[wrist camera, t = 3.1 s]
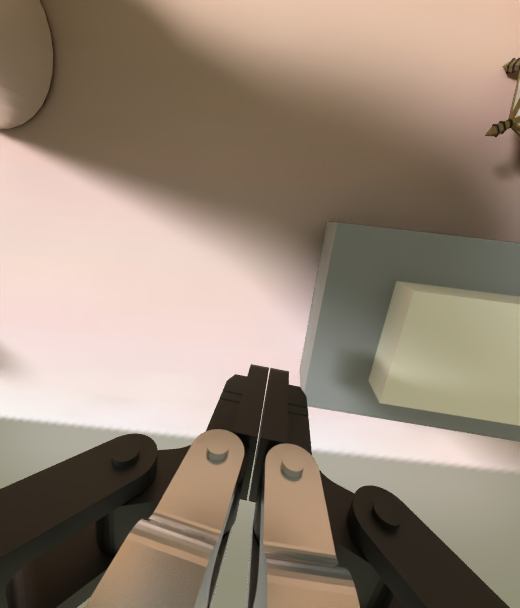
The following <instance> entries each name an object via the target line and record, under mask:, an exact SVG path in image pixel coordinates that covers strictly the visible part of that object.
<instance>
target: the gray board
mask: <svg viewBox="0 0 520 608" xmlns="http://www.w3.org/2000/svg"><path fill="white" fill-rule="evenodd" d="M396 281H402V282H409V283H417V284H425V285H433V286H441V287H449V288H456V289H464V290H472V291H480V292H488V293H496V294H504V295H511V296H519V297H520V243H517V242H508V241H499V240H491V239H482V238H473V237H464V236H455V235H446V234H437V233H429V232H420V231H411V230H402V229H393V228H384V227H375V226H367V225H358V224H349V223H340V222H327V223H326V228H325V234H324V239H323V245H322V250H321V256H320V261H319V267H318V272H317V278H316V283H315V289H314V294H313V300H312V305H311V311H310V317H309V322H308V328H307V333H306V339H305V344H304V350H303V355H302V361H301V366H300V383H301V389H302V390H303V392H304V393H305V395H306V397H307V406H309V407H315V408H321V409H327V410H333V411H339V412H345V413H351V414H357V415H363V416H369V417H375V418H381V419H387V420H393V421H399V422H405V423H411V424H417V425H423V426H429V427H435V428H441V429H447V430H454V431H460V432H466V433H472V434H478V435H484V436H490V437H496V438H502V439H508V440H514V441H520V426H518V425H512V424H506V423H499V422H493V421H487V420H481V419H475V418H469V417H462V416H456V415H450V414H444V413H438V412H432V411H425V410H419V409H413V408H407V407H401V406H395V405H388V404H382V403H379V401H378V399H377V397H376V395H375V393H374V391H373V389H372V387H371V385H370V383H369V381H368V380H369V376H370V373H371V369H372V365H373V362H374V358H375V355H376V351H377V348H378V344H379V341H380V337H381V334H382V330H383V327H384V323H385V320H386V316H387V312H388V309H389V305H390V302H391V298H392V295H393V291H394V288H395V284H396Z"/></svg>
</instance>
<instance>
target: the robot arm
mask: <svg viewBox="0 0 520 608" xmlns="http://www.w3.org/2000/svg"><path fill="white" fill-rule="evenodd" d="M52 72H53V49H52V41H51V33H50V29H49V26H48V22H47V19H46V15H45V11H44V9H43V7H42V5H41V2H40V0H0V129H10V128H13V127H16V126H19V125H22V124H24V123H25V122H27V121H28V120H29V119H31V118H32V117H33V116H34V115H35V114H36V113H37V111H38V110H39V109H40V107H41V106H42V105H43V102H44V100H45V98H46V96H47V93H48V91H49V87H50V82H51V78H52ZM268 371H269V368H268V367H263V366H258V365H252V364H251V366H250V369H249V373H248V376H247V377H246V376H241V375H236V374H235V375H234V376H233V377H231V378H230V379H229V380H228V381H227V382H226V384H225V387H224V389H223V392H222V394H221V396H220V400H219V401H218V403H217V406H216V408H215V411H214V413H213V415H212V418H211V420H210V423H209V425H208V427H207V430H206V432H204V433H202V434H200V435H199V436H198V437H197V438H196V439H195V440H194V442H193V443H192V445H190V446H187V447H184V448H179V449H169V450H157V446H156V444H155V442H154V441H153V440H152V439H151V438H150V437H148V436H146V435H142V434H127V435H124V436H120V437H117V438H115V439H113V440H110V441H108V442H106V443H103V444H101V445H99V446H97V447H94V448H92V449H90V450H88V451H85V452H83V453H81V454H79V455H77V456H74V457H72V458H70V459H67V460H65V461H63V462H61V463H58V464H56V465H54V466H51V467H49V468H47V469H45V470H43V471H40V472H38V473H36V474H33V475H31V476H29V477H27V478H24V479H23V480H20V481H18V482H16V483H13V484H11V485H9V486H6V487H4V488H2V489H0V608H77V607H78V606H79V605H81V604H82V603H83V602H85V601H86V600H87V599H88V598H89V597H90V599H89V601H88V602H87V604H86V605H85V607H84V608H211V606H212V602H213V598H214V595H215V591H216V587H217V583H218V579H219V576H220V572H221V569H222V565H223V561H224V557H225V554H226V550H227V546H228V542H229V539H230V535H231V531H232V526H233V524H234V522H235V520H236V516H237V511H238V506H239V500H240V499H242V500H247V494H248V489H249V483H250V478H251V472H252V466H253V461H254V455H255V450H256V445H257V439H258V445H257V451H256V457H255V464H254V470H253V477H252V483H251V490H250V496H249V501H251V502H256V506H255V513H254V521H253V525H252V531H251V538H250V553H249V569H248V583H247V598H246V608H510V607H509V606H507V604H506V603H505V602H503V601H502V600H501V599H500V598H499V597H498V596H497V595H496V594H495V593H494V592H493V591H492V590H491V589H490V588H489V587H488V586H487V585H486V584H485V583H484V582H483V581H482V580H481V579H480V578H479V577H478V576H477V575H476V574H475V573H474V572H473V571H472V570H471V569H470V568H469V567H468V566H467V565H466V564H465V563H464V562H463V561H462V560H461V559H460V558H459V557H458V556H457V555H456V554H455V553H454V552H453V551H451V549H450V548H449V547H448V546H447V545H445V543H444V542H442V540H441V539H439V537H437V536H436V535H435V534H434V533H433V532H432V531H431V530H430V529H429V528H428V527H427V526H426V525H425V524H424V523H423V522H422V521H421V520H420V519H419V518H418V517H417V516H416V515H415V514H414V513H413V512H412V511H411V510H410V509H409V508H408V507H407V506H406V505H405V504H404V503H403V502H402V501H401V500H400V499H399V498H397V497H396V496H395V495H393V494H392V493H390V492H389V491H387V490H385V489H383V488H380V487H376V486H363V487H361V488H359V489H358V490H357V491H356V492H355V494H354V493H352V492H350V491H348V490H347V489H344V488H343V487H341V486H339V485H337V484H336V483H334V482H332V481H331V480H329V479H328V478H327V477H326V476H325V475H323V474H322V472H321V471H320V470H319V468H318V465H317V463H316V461H315V459H314V458H313V457H312V452H311V441H310V430H309V418H308V409H307V397H306V395H305V393H304V392H303V390H302V389H301V387H298V386H293V385H289V371H284V370H279V369H274V368H270V373H269V379H268V385H267V390H266V396H265V389H266V383H267V377H268ZM264 396H265V401H264ZM263 402H264V407H263ZM262 408H263V413H262ZM261 414H262V419H261ZM260 421H261V425H260ZM259 427H260V432H259ZM258 433H259V438H258Z"/></svg>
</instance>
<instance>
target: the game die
mask: <svg viewBox="0 0 520 608" xmlns="http://www.w3.org/2000/svg"><path fill="white" fill-rule="evenodd" d="M503 67H504V69H505V70H506V71H507V72H506V73H509V72H512V73H513V72H515V71H518V70H520V58H518V59H515V58H513V59H512V60H511V61H510V62H509V63H507V64H506V65H504V66H503ZM508 128H511V129H512V130H513V131H514V132H515V133H516V134H517V135H518V136H520V72H519V77H518V81H517V85H516V90H515V94H514V98H513V102H512V107H511V111H510V115H509V119H508V120H507V121H504V122H503V121H500V122H499V123H498V124H493V125H492V127H491V129H490V130H489V131H488V132H487V133H486V135H485V136H495V137H497V136H498V135H499V134H503V133H504V132H505V131H506V130H507V129H508Z"/></svg>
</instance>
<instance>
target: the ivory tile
mask: <svg viewBox="0 0 520 608" xmlns="http://www.w3.org/2000/svg"><path fill="white" fill-rule="evenodd" d="M368 381H369V383H370V385H371V387H372V389H373V391H374V393H375V395H376V397H377V399H378V401H379V403H382V404H388V405H395V406H401V407H407V408H413V409H419V410H425V411H432V412H438V413H444V414H450V415H456V416H462V417H469V418H475V419H481V420H487V421H493V422H499V423H506V424H512V425H518V426H520V297H519V296H511V295H504V294H496V293H488V292H480V291H472V290H464V289H456V288H449V287H441V286H433V285H425V284H417V283H409V282H402V281H396V284H395V288H394V291H393V295H392V298H391V302H390V305H389V309H388V312H387V316H386V320H385V323H384V327H383V330H382V334H381V337H380V341H379V344H378V348H377V351H376V355H375V358H374V362H373V365H372V369H371V373H370V376H369V380H368Z"/></svg>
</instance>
